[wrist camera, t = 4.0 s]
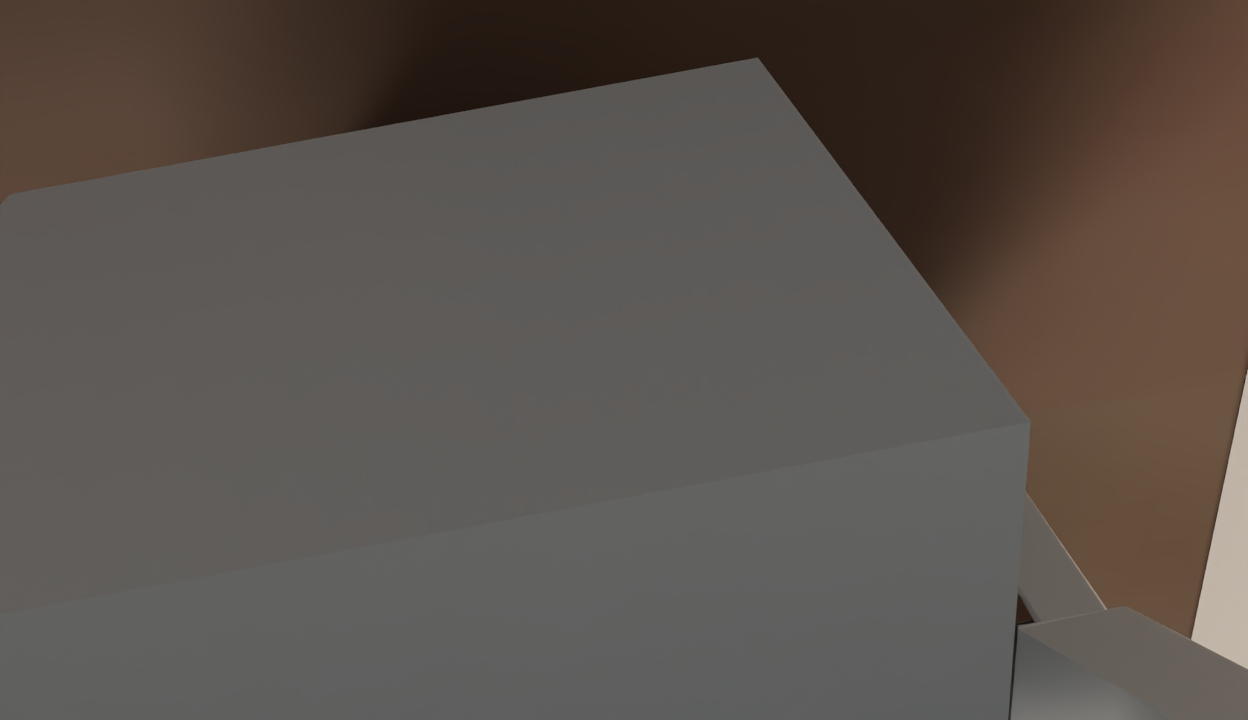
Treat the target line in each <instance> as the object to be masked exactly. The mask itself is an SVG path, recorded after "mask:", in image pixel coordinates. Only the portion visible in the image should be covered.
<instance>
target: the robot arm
mask: <svg viewBox="0 0 1248 720" xmlns="http://www.w3.org/2000/svg"><path fill="white" fill-rule="evenodd" d="M1008 720H1248V669H1246V668H1244V667H1243V666H1241V665H1239V664H1237V663H1235V662H1233V661H1231V660H1229V659H1227V658H1225V657H1223V656H1221V655H1219V654H1217V653H1215V652H1213V651H1212V650H1210V649H1208V648H1206V647H1204V646H1202V645H1200V644H1198V643H1196V642H1194V641H1192V640H1190V639H1188V638H1186V637H1184V636H1183V635H1181V634H1179V633H1177V632H1175V631H1173V630H1171V629H1169V628H1167V627H1165V626H1163V625H1161V624H1159V623H1157V622H1155V621H1153V620H1152V619H1150V618H1148V617H1146V616H1144V615H1142V614H1140V613H1138V612H1136V611H1134V610H1132V609H1130V608H1128V607H1126V606H1124V607H1118V608H1112V609H1107V608H1106V607H1105V606H1104V604H1103V603H1102V601H1101V600H1100V598H1099V597H1098V595H1097V594H1096V592H1095V591H1094V590H1093V588H1092V587H1091V585H1090V584H1089V582H1088V581H1087V579H1086V578H1085V577H1084V575H1083V574H1082V572H1081V571H1080V569H1079V568H1078V566H1077V565H1076V563H1075V562H1074V561H1073V559H1072V558H1071V556H1070V555H1069V553H1068V552H1067V550H1066V549H1065V547H1064V546H1063V545H1062V543H1061V542H1060V540H1059V539H1058V537H1057V536H1056V534H1055V533H1054V532H1053V530H1052V529H1051V527H1050V526H1049V524H1048V523H1047V521H1046V520H1045V518H1044V517H1043V516H1042V514H1041V513H1040V511H1039V510H1038V508H1037V507H1036V505H1035V504H1034V503H1033V501H1032V500H1031V498H1030V497H1029V495H1028V494H1027V492H1026V491H1025V504H1024V517H1023V530H1022V544H1021V557H1020V570H1019V583H1018V596H1017V609H1016V622H1015V635H1014V648H1013V661H1012V674H1011V687H1010V700H1009V713H1008Z"/></svg>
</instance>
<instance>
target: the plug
mask: <svg viewBox="0 0 1248 720" xmlns="http://www.w3.org/2000/svg"><path fill="white" fill-rule="evenodd" d="M1030 426H1031V421H1030V420H1029V419H1028V417H1027V416H1026V415H1025V413H1024V412H1023V411H1022V409H1021V408H1020V407H1019V405H1018V404H1017V403H1016V401H1015V400H1014V399H1013V397H1012V396H1011V395H1010V393H1009V392H1008V391H1007V389H1006V388H1005V387H1004V385H1003V384H1002V383H1001V381H1000V380H999V379H998V377H997V376H996V375H995V373H994V372H993V371H992V369H991V368H990V367H989V365H988V364H987V363H986V361H985V360H984V359H983V357H982V356H981V355H980V353H979V352H978V351H977V349H976V348H975V347H974V345H973V344H972V343H971V341H970V340H969V339H968V337H967V336H966V335H965V333H964V332H963V331H962V329H961V328H960V327H959V325H958V324H957V323H956V321H955V320H954V319H953V317H952V316H951V315H950V313H949V312H948V311H947V309H946V308H945V307H944V305H943V304H942V303H941V301H940V300H939V299H938V297H937V296H936V295H935V293H934V292H933V291H932V289H931V288H930V287H929V285H928V284H927V283H926V281H925V280H924V279H923V277H922V276H921V275H920V273H919V272H918V271H917V269H916V268H915V267H914V265H913V264H912V263H911V261H910V260H909V259H908V257H907V256H906V255H905V253H904V252H903V251H902V249H901V248H900V247H899V245H898V244H897V243H896V241H895V240H894V239H893V237H892V236H891V235H890V233H889V232H888V231H887V229H886V228H885V227H884V225H883V224H882V223H881V221H880V220H879V219H878V217H877V216H876V215H875V213H874V212H873V211H872V209H871V208H870V207H869V205H868V204H867V203H866V201H865V200H864V199H863V197H862V196H861V195H860V193H859V192H858V191H857V189H856V188H855V187H854V185H853V184H852V183H851V181H850V180H849V179H848V177H847V176H846V175H845V173H844V172H843V171H842V169H841V168H840V167H839V165H838V164H837V163H836V161H835V160H834V159H833V157H832V156H831V155H830V153H829V152H828V151H827V149H826V148H825V147H824V145H823V144H822V143H821V141H820V140H819V139H818V137H817V136H816V135H815V133H814V132H813V131H812V129H811V128H810V127H809V125H808V124H807V122H806V121H805V120H804V118H803V117H802V116H801V114H800V113H799V112H798V110H797V109H796V108H795V106H794V105H793V104H792V102H791V101H790V100H789V98H788V97H787V96H786V94H785V93H784V92H783V90H782V89H781V88H780V86H779V85H778V84H777V82H776V81H775V80H774V78H773V77H772V76H771V74H770V73H769V72H768V70H767V69H766V68H765V66H764V65H763V64H762V62H761V61H760V60H759V58H752V59H747V60H742V61H736V62H731V63H725V64H720V65H714V66H709V67H703V68H698V69H692V70H687V71H681V72H676V73H671V74H665V75H660V76H654V77H649V78H643V79H638V80H632V81H627V82H621V83H616V84H610V85H605V86H600V87H594V88H589V89H583V90H578V91H572V92H567V93H561V94H556V95H550V96H545V97H539V98H534V99H529V100H523V101H518V102H512V103H507V104H501V105H496V106H490V107H485V108H479V109H474V110H468V111H463V112H458V113H452V114H447V115H441V116H436V117H430V118H425V119H419V120H414V121H408V122H403V123H397V124H392V125H387V126H381V127H376V128H370V129H365V130H359V131H354V132H348V133H343V134H337V135H332V136H326V137H321V138H316V139H310V140H305V141H299V142H294V143H288V144H283V145H277V146H272V147H266V148H261V149H255V150H250V151H245V152H239V153H234V154H228V155H223V156H217V157H212V158H206V159H201V160H195V161H190V162H184V163H179V164H174V165H168V166H163V167H157V168H152V169H146V170H141V171H135V172H130V173H124V174H119V175H113V176H108V177H103V178H97V179H92V180H86V181H81V182H75V183H70V184H64V185H59V186H53V187H48V188H42V189H37V190H32V191H26V192H21V193H15V194H10V195H9V196H8V197H7V198H6V199H5V200H4V201H3V202H2V204H1V205H0V720H1008V713H1009V700H1010V687H1011V674H1012V661H1013V648H1014V635H1015V622H1016V609H1017V596H1018V583H1019V570H1020V557H1021V544H1022V530H1023V517H1024V504H1025V491H1026V478H1027V465H1028V452H1029V439H1030Z"/></svg>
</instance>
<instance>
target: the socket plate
mask: <svg viewBox="0 0 1248 720" xmlns="http://www.w3.org/2000/svg"><path fill="white" fill-rule="evenodd" d="M1191 640H1192V641H1194V642H1196V643H1198V644H1200V645H1202V646H1204V647H1206V648H1208V649H1210V650H1212V651H1213V652H1215V653H1217V654H1219V655H1221V656H1223V657H1225V658H1227V659H1229V660H1231V661H1233V662H1235V663H1237V664H1239V665H1241V666H1243V667H1244V668H1246V669H1248V371H1247V375H1246V380H1245V385H1244V390H1243V394H1242V399H1241V404H1240V409H1239V414H1238V418H1237V423H1236V428H1235V433H1234V437H1233V442H1232V447H1231V452H1230V457H1229V461H1228V466H1227V471H1226V476H1225V480H1224V485H1223V490H1222V495H1221V500H1220V504H1219V509H1218V514H1217V519H1216V523H1215V528H1214V533H1213V538H1212V543H1211V547H1210V552H1209V557H1208V562H1207V566H1206V571H1205V576H1204V581H1203V585H1202V590H1201V595H1200V600H1199V605H1198V609H1197V614H1196V619H1195V624H1194V628H1193V633H1192V638H1191Z"/></svg>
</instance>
